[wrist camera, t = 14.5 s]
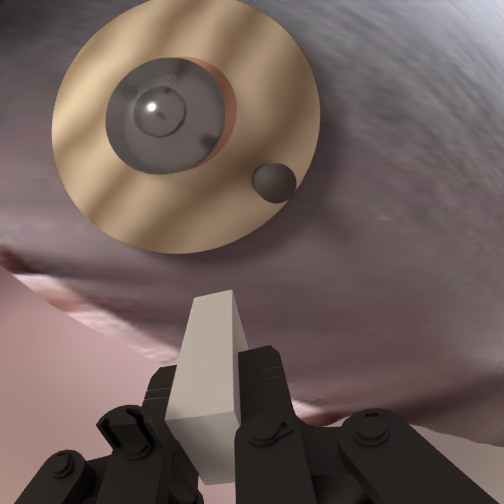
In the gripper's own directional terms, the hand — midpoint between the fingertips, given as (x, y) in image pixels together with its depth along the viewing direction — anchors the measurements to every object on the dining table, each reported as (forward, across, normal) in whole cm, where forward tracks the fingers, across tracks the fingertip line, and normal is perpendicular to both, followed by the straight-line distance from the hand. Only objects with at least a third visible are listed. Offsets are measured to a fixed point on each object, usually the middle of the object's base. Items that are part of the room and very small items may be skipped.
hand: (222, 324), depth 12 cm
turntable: (+19, -2, +12) cm, 23 cm away
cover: (+17, -3, +11) cm, 21 cm away
